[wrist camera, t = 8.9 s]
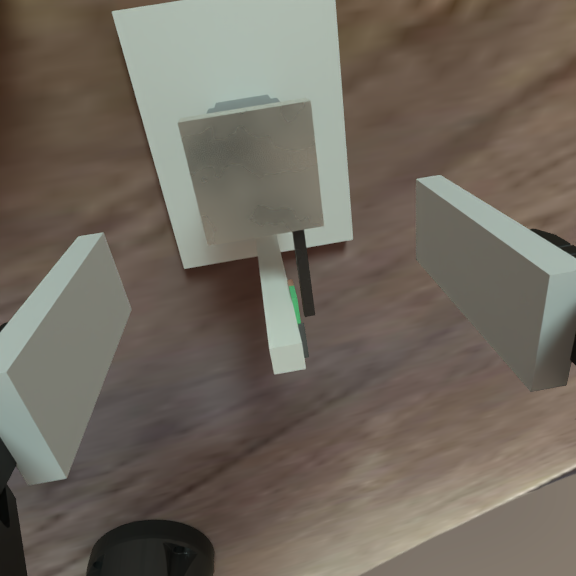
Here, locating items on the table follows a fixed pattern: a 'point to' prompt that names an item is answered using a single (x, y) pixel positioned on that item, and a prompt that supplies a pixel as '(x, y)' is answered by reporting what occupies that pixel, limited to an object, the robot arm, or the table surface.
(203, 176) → the square paddle
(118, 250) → the table surface
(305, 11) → the stand
